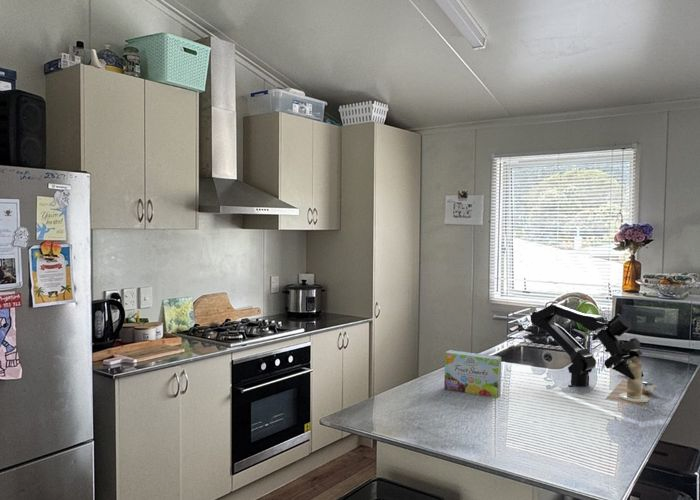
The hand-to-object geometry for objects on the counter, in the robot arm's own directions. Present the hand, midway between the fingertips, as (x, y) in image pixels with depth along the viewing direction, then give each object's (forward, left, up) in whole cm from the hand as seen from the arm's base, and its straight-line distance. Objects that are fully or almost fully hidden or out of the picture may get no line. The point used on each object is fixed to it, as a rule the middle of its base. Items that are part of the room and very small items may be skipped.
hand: (638, 377), depth 216 cm
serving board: (+6, +8, -9) cm, 14 cm away
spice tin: (+11, +5, -8) cm, 14 cm away
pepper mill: (0, +1, -7) cm, 8 cm away
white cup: (+26, +29, -10) cm, 40 cm away
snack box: (-52, +32, -10) cm, 62 cm away
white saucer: (0, +1, -8) cm, 8 cm away
